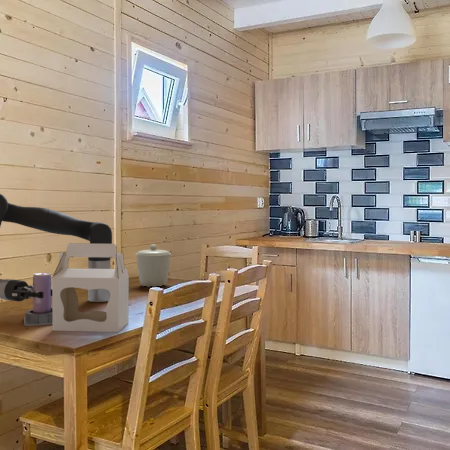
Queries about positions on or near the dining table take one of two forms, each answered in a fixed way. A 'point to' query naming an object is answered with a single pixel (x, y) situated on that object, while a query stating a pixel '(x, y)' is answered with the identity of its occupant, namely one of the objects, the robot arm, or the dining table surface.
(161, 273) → the canister
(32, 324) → the ring collar
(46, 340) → the dining table surface
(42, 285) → the beverage can
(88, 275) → the gable box
